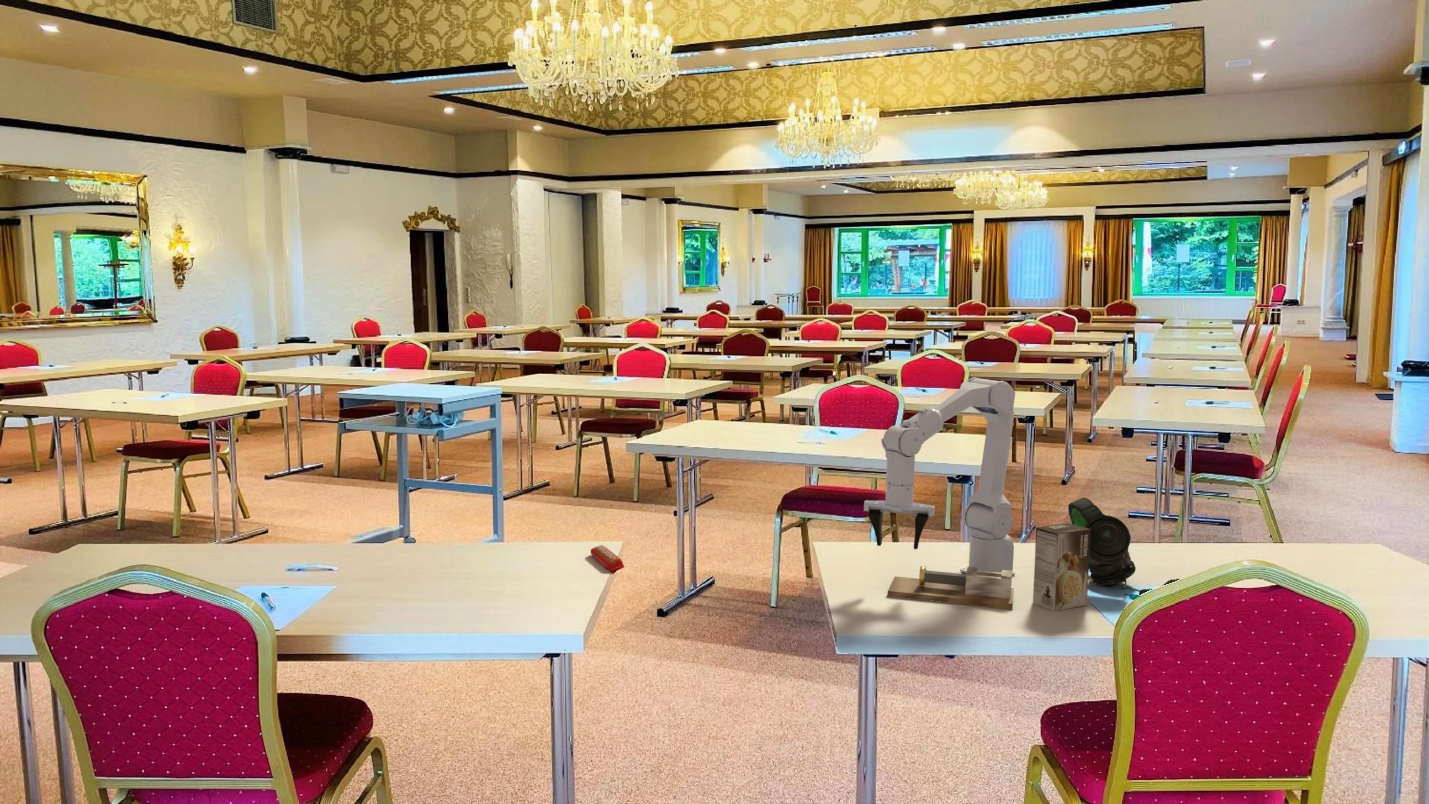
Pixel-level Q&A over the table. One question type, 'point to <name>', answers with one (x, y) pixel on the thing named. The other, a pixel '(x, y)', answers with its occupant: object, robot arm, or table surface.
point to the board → (961, 589)
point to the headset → (1105, 544)
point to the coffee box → (1061, 566)
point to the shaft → (941, 577)
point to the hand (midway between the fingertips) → (897, 546)
